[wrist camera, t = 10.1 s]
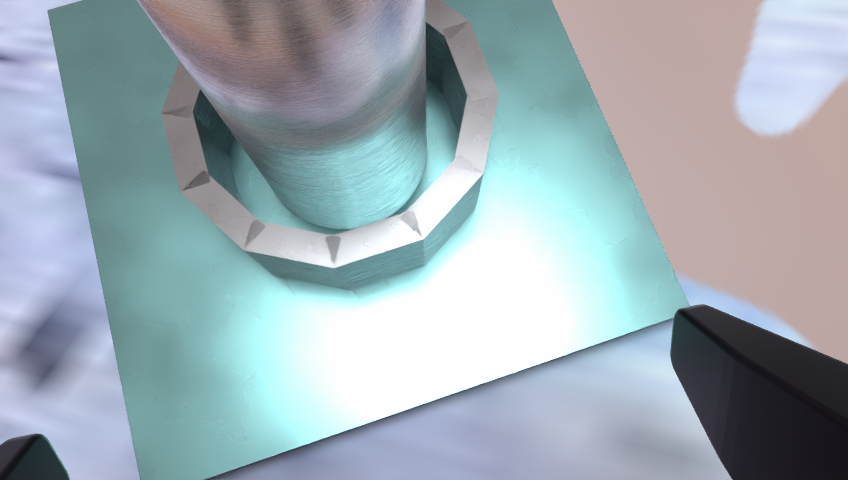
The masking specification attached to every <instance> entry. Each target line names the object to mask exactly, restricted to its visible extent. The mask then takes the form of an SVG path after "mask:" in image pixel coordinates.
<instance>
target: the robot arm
mask: <svg viewBox="0 0 848 480" xmlns="http://www.w3.org/2000/svg"><path fill="white" fill-rule="evenodd" d="M670 356H671V362H672V365H673V368H674V370H675V372H676V374H677V376H678V378H679V380H680V382H681V384H682V386H683V388H684V390H685V392H686V394H687V396H688V398H689V400H690V402H691V404H692V406H693V408H694V410H695V412H696V414H697V416H698V418H699V420H700V422H701V424H702V426H703V428H704V430H705V432H706V434H707V436H708V438H709V440H710V442H711V444H712V446H713V447H714V449H715V451H716V453H717V455H718V457H719V459H720V460H721V462H722V464H723V465H724V467H725V468H726V470H727V472H728V473H729V475H730V476H731V478H732V480H848V364H846V363H844V362H842V361H839V360H837V359H834V358H832V357H830V356H827V355H825V354H822V353H820V352H818V351H815V350H813V349H811V348H808V347H806V346H803V345H801V344H799V343H796V342H794V341H791V340H789V339H787V338H784V337H782V336H779V335H777V334H775V333H772V332H770V331H768V330H765V329H763V328H760V327H758V326H756V325H753V324H751V323H748V322H746V321H744V320H741V319H739V318H736V317H734V316H732V315H729V314H727V313H725V312H722V311H720V310H717V309H715V308H713V307H710V306H707V305H703V304H701V305H695V306H690V307H684V308H680V309H678V310H677V311H676V312H675V314H674V317H673V325H672V337H671V350H670ZM0 480H70V478H69V475H68V472H67V470H66V469H65V467H64V465H63V464H62V462H61V460H60V459H59V457H58V455H57V454H56V452H55V450H54V448H53V447H52V445H51V443H50V442H49V440H48V439H47V438H46V437H45V436H44V435H42V434H31V435H26V436H21V437H16V438H12V439H9V440H7V441H5V442H4V443H3V444H1V445H0Z"/></svg>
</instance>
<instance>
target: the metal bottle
mask: <svg viewBox="0 0 848 480" xmlns="http://www.w3.org/2000/svg"><path fill="white" fill-rule="evenodd" d="M137 1H138V3H139V4H140V6H141V7H142V8H143V10H144V11H145V13H146V14H147V15H148V17H149V18H150V19H151V21H152V22H153V24H154V25H155V26H156V28H157V29H158V31H159V32H160V33H161V35H162V36H163V38H164V39H165V40H166V42H167V43H168V45H169V46H170V47H171V49H172V50H173V52H174V53H175V54H176V56H177V57H178V59H179V60H180V61H181V63H182V64H183V65H184V67H185V68H186V70H187V71H188V72H189V74H190V75H191V77H192V78H193V79H194V81H195V82H196V84H197V85H198V86H199V88H200V89H201V91H202V92H203V93H204V95H205V96H206V98H207V99H208V100H209V102H210V103H211V105H212V106H213V107H214V109H215V110H216V111H217V113H218V114H219V116H220V117H221V118H222V120H223V121H224V123H225V124H226V125H227V127H228V128H229V130H230V131H231V132H232V134H233V135H234V137H235V138H236V139H237V141H238V142H239V144H240V145H241V146H242V148H243V149H244V151H245V152H246V153H247V155H248V156H249V157H250V159H251V160H252V162H253V163H254V164H255V166H256V167H257V169H258V170H259V171H260V173H261V174H262V176H263V177H264V178H265V180H266V181H267V183H268V184H269V185H270V187H271V188H272V190H273V191H274V192H275V194H276V195H277V196H278V198H279V199H280V200H281V202H282V203H283V204H284V205H285V206H286V207H287V208H288V209H289V210H290V211H291V212H293V213H294V214H296V215H297V216H298V217H300V218H302V219H304V220H305V221H307V222H310V223H312V224H315V225H317V226H321V227H326V228H331V229H354V228H358V227H361V226H364V225H368V224H371V223H374V222H377V221H380V220H383V219H385V218H387V217H389V216H390V215H392V214H393V213H394V212H396V211H397V210H398V209H400V208H401V207H402V206H403V205H404V204H405V203H406V202H407V201H408V200H409V198H410V197H411V196H412V194H413V193H414V192H415V190H416V188H417V186H418V185H419V183H420V180H421V178H422V175H423V172H424V168H425V164H426V156H427V143H426V13H425V0H137Z"/></svg>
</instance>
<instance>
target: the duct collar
mask: <svg viewBox="0 0 848 480" xmlns="http://www.w3.org/2000/svg"><path fill="white" fill-rule="evenodd" d="M425 13H426V143H427V156H426V164H425V168H424V172H423V175H422V178H421V180H420V183H419V185H418V186H417V188H416V190H415V192H414V193H413V194H412V196H411V197H410V198H409V200H408V201H407V202H406V203H405V204H404V205H403V206H402V207H401V208H400V209H398V210H397V211H396V212H394V213H393V214H392V215H390V216H389V217H387V218H385V219H383V220H380V221H377V222H374V223H371V224H368V225H364V226H361V227H358V228H354V229H331V228H326V227H321V226H317V225H315V224H312V223H310V222H307V221H305V220H304V219H302V218H300V217H298V216H297V215H296V214H294V213H293V212H291V211H290V210H289V209H288V208H287V207H286V206H285V205H284V204H283V203H282V202H281V200H280V199H279V198H278V196H277V195H276V194H275V192H274V191H273V190H272V188H271V187H270V185H269V184H268V183H267V181H266V180H265V178H264V177H263V176H262V174H261V173H260V171H259V170H258V169H257V167H256V166H255V164H254V163H253V162H252V160H251V159H250V157H249V156H248V155H247V153H246V152H245V151H244V149H243V148H242V146H241V145H240V144H239V142H238V141H237V139H236V138H235V137H234V135H233V134H232V132H231V131H230V130H229V128H228V127H227V125H226V124H225V123H224V121H223V120H222V118H221V117H220V116H219V114H218V113H217V111H216V110H215V109H214V107H213V106H212V105H211V103H210V102H209V100H208V99H207V98H206V96H205V95H204V93H203V92H202V91H201V89H200V88H199V86H198V85H197V84H196V82H195V81H194V79H193V78H192V77H191V75H190V74H189V72H188V71H187V70H186V68H185V67H184V65H183V64H182V63H181V61H180V60H179V59H178V57H177V56H176V54H175V53H174V52H173V50H172V49H171V47H170V46H169V45H168V43H167V42H166V40H165V39H164V38H163V36H162V35H161V33H160V32H159V31H158V29H157V28H156V26H155V25H154V24H153V22H152V21H151V19H150V18H149V17H148V15H147V14H146V13H145V11H144V10H143V8H142V7H141V6H140V4H139V3H138V1H137V0H82V1H79V2H75V3H72V4H68V5H64V6H61V7H57V8H54V9H50V10H48V15H49V20H50V26H51V31H52V36H53V41H54V46H55V51H56V56H57V61H58V66H59V71H60V76H61V81H62V86H63V91H64V96H65V101H66V106H67V111H68V117H69V122H70V127H71V132H72V137H73V142H74V147H75V152H76V157H77V162H78V167H79V172H80V177H81V182H82V187H83V192H84V197H85V203H86V208H87V213H88V218H89V223H90V228H91V233H92V238H93V243H94V248H95V253H96V258H97V263H98V268H99V273H100V278H101V283H102V289H103V294H104V299H105V304H106V309H107V314H108V319H109V324H110V329H111V334H112V339H113V344H114V349H115V354H116V359H117V364H118V369H119V374H120V380H121V385H122V390H123V395H124V400H125V405H126V410H127V415H128V420H129V425H130V430H131V435H132V440H133V445H134V450H135V455H136V460H137V466H138V471H139V476H140V480H205V479H208V478H211V477H214V476H217V475H220V474H223V473H226V472H228V471H231V470H234V469H237V468H240V467H243V466H246V465H249V464H252V463H255V462H257V461H260V460H263V459H266V458H269V457H272V456H275V455H278V454H281V453H284V452H286V451H289V450H292V449H295V448H298V447H301V446H304V445H307V444H310V443H312V442H315V441H318V440H321V439H324V438H327V437H330V436H333V435H336V434H339V433H341V432H344V431H347V430H350V429H353V428H356V427H359V426H362V425H365V424H367V423H370V422H373V421H376V420H379V419H382V418H385V417H388V416H391V415H394V414H396V413H399V412H402V411H405V410H408V409H411V408H414V407H417V406H420V405H422V404H425V403H428V402H431V401H434V400H437V399H440V398H443V397H446V396H449V395H451V394H454V393H457V392H460V391H463V390H466V389H469V388H472V387H475V386H477V385H480V384H483V383H486V382H489V381H492V380H495V379H498V378H501V377H504V376H506V375H509V374H512V373H515V372H518V371H521V370H524V369H527V368H530V367H532V366H535V365H538V364H541V363H544V362H547V361H550V360H553V359H556V358H559V357H561V356H564V355H567V354H570V353H573V352H576V351H579V350H582V349H585V348H587V347H590V346H593V345H596V344H599V343H602V342H605V341H608V340H611V339H614V338H616V337H619V336H622V335H625V334H628V333H631V332H634V331H637V330H640V329H642V328H645V327H648V326H651V325H654V324H657V323H660V322H663V321H666V320H669V319H671V318H673V317H674V314H675V312H676V311H677V310H678V309H680V308H684V307H690V305H689V303H688V301H687V299H686V297H685V294H684V292H683V290H682V288H681V286H680V283H679V281H678V279H677V277H676V274H675V272H674V270H673V268H672V266H671V264H670V261H669V259H668V257H667V255H666V252H665V250H664V248H663V246H662V243H661V242H660V239H659V237H658V235H657V232H656V230H655V228H654V226H653V224H652V221H651V219H650V217H649V215H648V213H647V210H646V208H645V206H644V204H643V201H642V199H641V197H640V195H639V193H638V190H637V188H636V187H635V184H634V182H633V180H632V177H631V175H630V173H629V171H628V168H627V166H626V164H625V162H624V159H623V158H622V155H621V153H620V151H619V148H618V146H617V144H616V142H615V140H614V137H613V135H612V133H611V131H610V129H609V126H608V124H607V122H606V120H605V117H604V115H603V113H602V111H601V109H600V106H599V104H598V102H597V100H596V97H595V95H594V93H593V91H592V89H591V86H590V84H589V82H588V80H587V78H586V75H585V73H584V71H583V69H582V67H581V64H580V63H579V60H578V58H577V55H576V53H575V51H574V49H573V47H572V45H571V42H570V40H569V38H568V36H567V33H566V31H565V29H564V27H563V24H562V22H561V20H560V18H559V16H558V13H557V11H556V9H555V7H554V5H553V2H552V0H425Z"/></svg>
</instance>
